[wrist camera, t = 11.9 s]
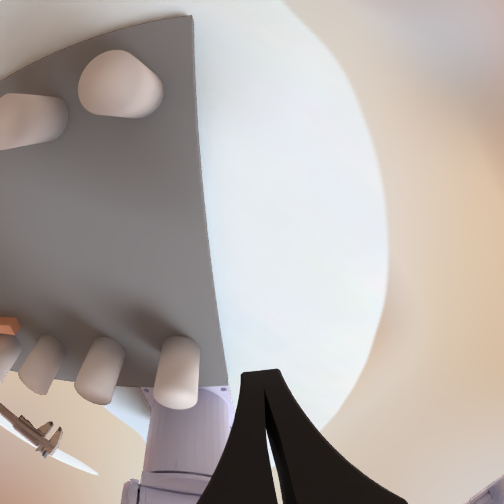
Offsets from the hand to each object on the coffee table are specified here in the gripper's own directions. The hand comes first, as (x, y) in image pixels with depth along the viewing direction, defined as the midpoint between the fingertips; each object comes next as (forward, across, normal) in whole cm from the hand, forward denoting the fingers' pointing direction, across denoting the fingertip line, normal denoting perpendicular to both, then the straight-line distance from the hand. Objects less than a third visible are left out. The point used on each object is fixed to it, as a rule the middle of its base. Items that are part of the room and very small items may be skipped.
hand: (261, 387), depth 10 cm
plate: (+9, +15, -3) cm, 18 cm away
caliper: (+10, +36, +19) cm, 42 cm away
